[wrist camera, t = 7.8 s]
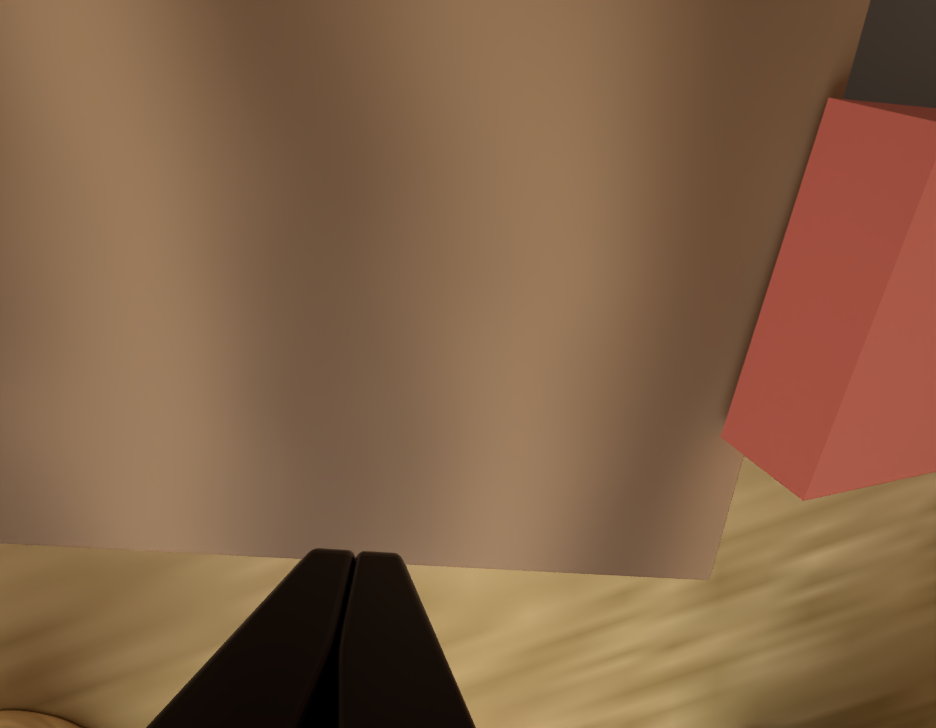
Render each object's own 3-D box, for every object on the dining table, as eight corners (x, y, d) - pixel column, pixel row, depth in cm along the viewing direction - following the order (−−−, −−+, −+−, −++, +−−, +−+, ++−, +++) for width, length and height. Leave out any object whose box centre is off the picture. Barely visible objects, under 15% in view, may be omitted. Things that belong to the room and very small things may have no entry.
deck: (815, -199, 14) (941, -258, 10) (665, 469, 20) (709, 580, 16) (-134, -287, 13) (-359, -381, 9) (22, 432, 19) (-77, 538, 16)
